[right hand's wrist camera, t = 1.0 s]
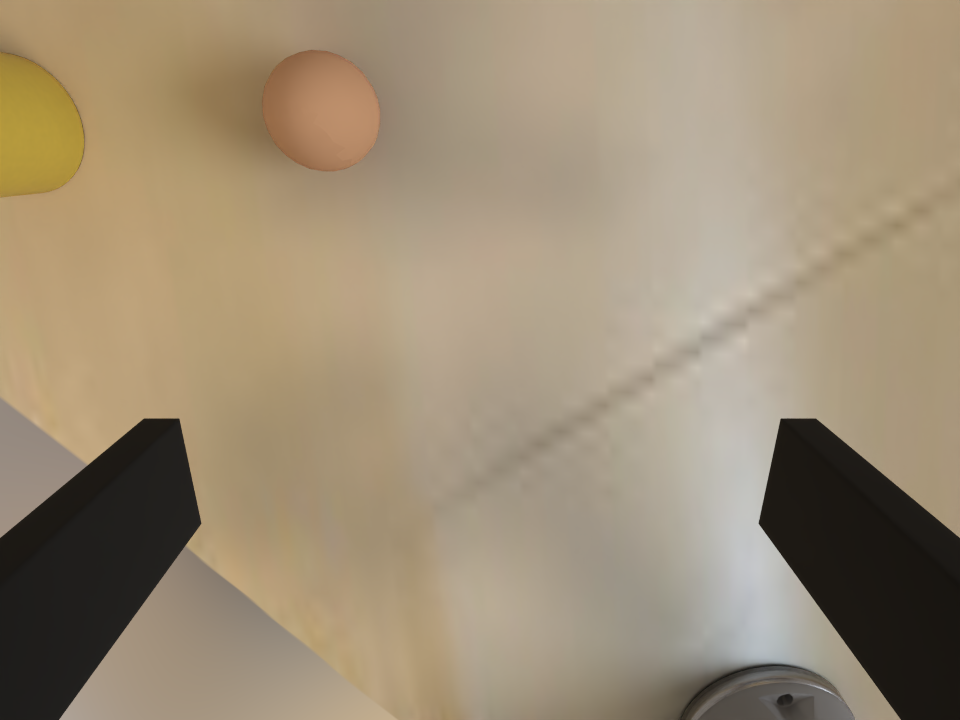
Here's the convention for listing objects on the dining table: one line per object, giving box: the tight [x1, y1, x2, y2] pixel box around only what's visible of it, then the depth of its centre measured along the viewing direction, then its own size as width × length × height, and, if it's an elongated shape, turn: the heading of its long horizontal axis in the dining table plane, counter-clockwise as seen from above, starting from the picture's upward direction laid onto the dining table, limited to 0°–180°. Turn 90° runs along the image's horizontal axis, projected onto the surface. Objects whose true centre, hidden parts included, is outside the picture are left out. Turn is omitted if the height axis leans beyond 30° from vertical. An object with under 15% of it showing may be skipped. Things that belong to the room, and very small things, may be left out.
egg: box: [262, 50, 380, 171], centre depth 31 cm, size 6×6×8 cm
